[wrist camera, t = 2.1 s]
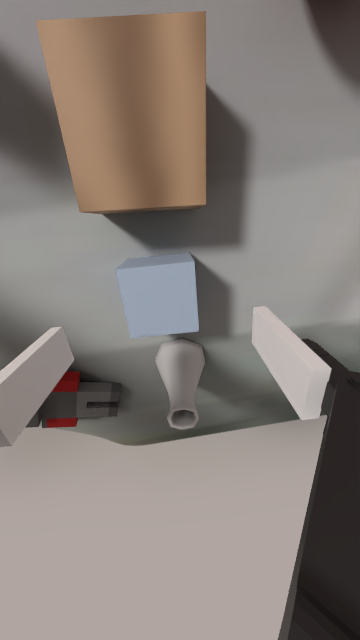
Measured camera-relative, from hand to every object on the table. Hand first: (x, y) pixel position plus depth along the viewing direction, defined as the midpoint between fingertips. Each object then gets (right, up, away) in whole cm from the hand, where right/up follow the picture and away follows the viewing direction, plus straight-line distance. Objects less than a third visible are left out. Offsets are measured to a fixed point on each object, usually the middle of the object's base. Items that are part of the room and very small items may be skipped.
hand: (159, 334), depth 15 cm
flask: (+1, -4, +16) cm, 16 cm away
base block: (-2, +17, +5) cm, 18 cm away
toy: (-15, -9, +17) cm, 25 cm away
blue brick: (-1, +5, +11) cm, 12 cm away
